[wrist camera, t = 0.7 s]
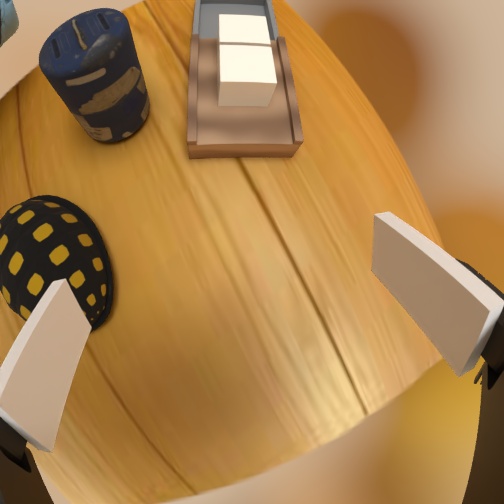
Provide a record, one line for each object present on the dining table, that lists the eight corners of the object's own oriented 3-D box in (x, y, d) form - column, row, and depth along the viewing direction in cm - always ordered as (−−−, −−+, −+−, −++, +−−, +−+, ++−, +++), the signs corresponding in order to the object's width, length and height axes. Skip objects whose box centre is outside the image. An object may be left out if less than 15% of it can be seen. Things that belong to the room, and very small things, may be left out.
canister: (146, 81, 34) (125, -14, 16) (157, 133, 34) (129, 35, 16) (85, 103, 32) (38, 21, 15) (90, 156, 32) (24, 80, 14)
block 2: (267, 106, 32) (277, 83, 27) (218, 106, 31) (220, 81, 26) (263, 71, 32) (271, 47, 27) (217, 70, 31) (219, 44, 26)
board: (291, 157, 36) (303, 141, 31) (189, 159, 34) (187, 141, 29) (276, 57, 37) (284, 37, 32) (192, 56, 35) (191, 34, 30)
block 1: (262, 68, 32) (270, 43, 27) (217, 67, 31) (219, 41, 26) (259, 40, 33) (265, 16, 28) (216, 38, 32) (219, 14, 27)
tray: (276, 56, 37) (280, 44, 34) (192, 54, 35) (192, 41, 32) (266, 6, 38) (270, -5, 35) (196, 4, 36) (196, -8, 33)
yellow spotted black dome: (14, 148, 22) (126, 265, 23) (48, 173, 31) (147, 268, 32) (-49, 260, 19) (45, 388, 21) (-9, 263, 28) (78, 364, 30)
